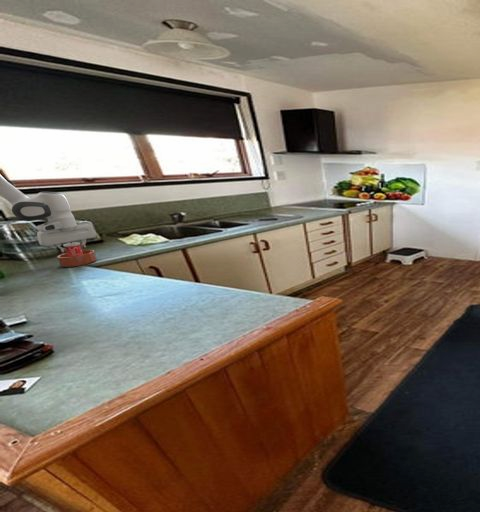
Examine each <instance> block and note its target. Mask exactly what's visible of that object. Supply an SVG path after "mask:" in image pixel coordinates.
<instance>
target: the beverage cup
mask: <svg viewBox="0 0 480 512" xmlns="http://www.w3.org/2000/svg"><path fill="white" fill-rule="evenodd" d="M80 245H81V242H80V241H72V242H66V243H63V244H62V246H63V248H66V250H67V251H66V253H68V254H69V256H70V257H72V256H78V255H83V252H82V250H83V248H81V246H80Z"/></svg>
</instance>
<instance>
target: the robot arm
mask: <svg viewBox="0 0 480 512" xmlns="http://www.w3.org/2000/svg"><path fill="white" fill-rule="evenodd" d="M0 197H1V198H3V199H5V200H6V201H7V202H8V203H9V204H10V205H11V206H12V207H11V212H12V214H13V215H14V216H15V218H18V219H20V220H22V221H27V222H35V221H38V220H41V219H47V222H44V223H42V224H39V225H36V226H35V228H36V230H37V233H36V237H37V241H38V244H39V245H40V246H43V247H49V246H50V247H51V246H55V247H57V248H58V249H60V252H61V253H67V250H66V248H65V247H62V244H67V243H71V242H72V243H73V242H78V241H81V243H80V246H81V249H85V248H87V246H86V244H87V242H88V241H87V239H88V240H89V239H92V238H93V239H94V238H96V237H97V233H96V231H95V229H94V225H93V222H92V221H89V220H82V221H77V220H76V219H75V216H74V214H73V212H72V209H71V204H70V203H69V201H68V199H67V198H66V196H65V195H64V194H62V193H60V192H56V191H40V192H38V193H37V194H35V195H33V196H28V195H26V194H25V193H24V192H22V191H21V190H19V189H18V188H17V187H15V186H14V185H13V184H12V183H10V182H9V181H7V180H6V179H5V177H3V176H2V175H1V174H0Z"/></svg>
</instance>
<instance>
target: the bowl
mask: <svg viewBox="0 0 480 512" xmlns="http://www.w3.org/2000/svg"><path fill="white" fill-rule="evenodd" d="M82 252H83V255H78V256H72V257H70V256H69V254H68V252H64V253H62V254H58V255H57V256H56V258H57V261H58V263H59V266H60V267H62V268H63V267H64V268H76V267H80V266H86V265H90V264H93V263H94V262H96V261H97V260H98V258H97V255H96V252H95V250H93V249H82Z"/></svg>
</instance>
